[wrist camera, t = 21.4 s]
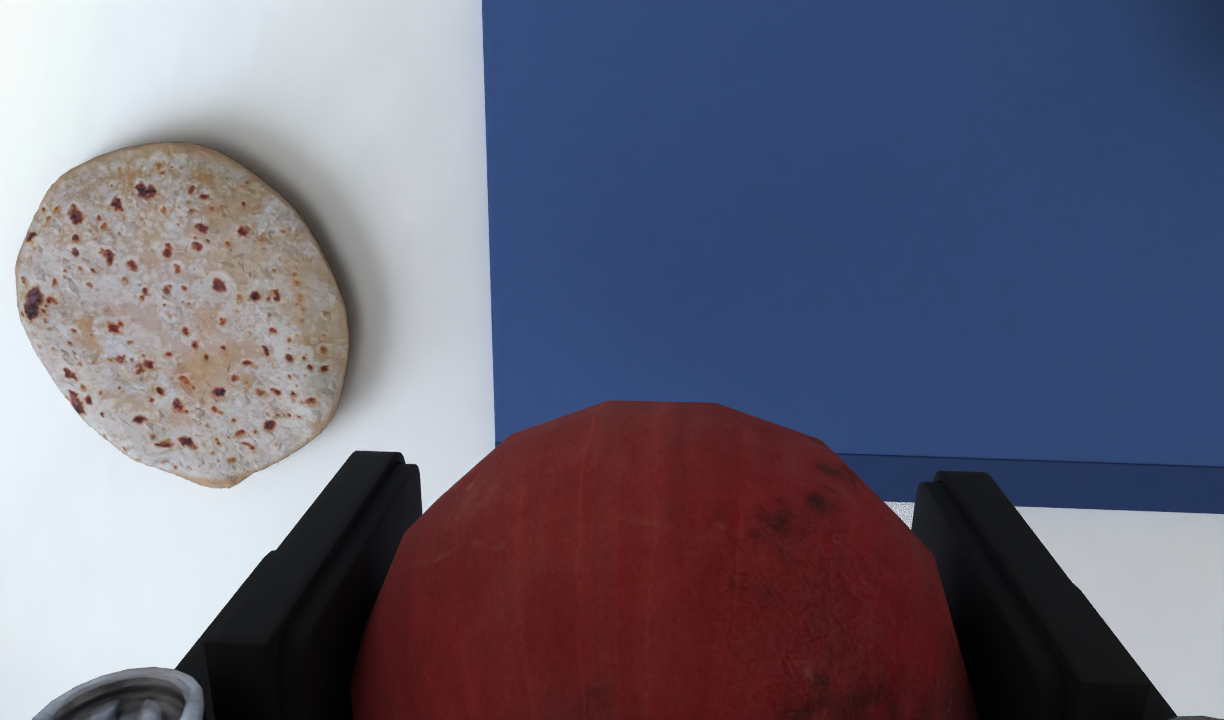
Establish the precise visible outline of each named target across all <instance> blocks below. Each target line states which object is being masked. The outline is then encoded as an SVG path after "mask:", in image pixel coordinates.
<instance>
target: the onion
mask: <svg viewBox="0 0 1224 720" xmlns="http://www.w3.org/2000/svg"><path fill="white" fill-rule="evenodd" d="M350 690H351V702H352V714H353V720H979V717H978V713H977V709H976V705H975V701H974V697H973V692H972V688H971V684H970V680H969V676H968V673H967V669H966V665H965V661H964V658H963V654H962V651H961V647H960V644H959V640H958V637H957V634H956V630H955V627H954V623H953V620H952V616H951V613H950V609H949V606H948V603H947V599H946V596H945V592H944V589H943V585H942V582H941V578H940V575H939V572H938V568H937V565H936V561H935V558H934V555H933V554H932V553H931V552H930V551H929V549H928V548H927V547H926V546H925V545H924V544H923V543H922V542H921V541H920V540H919V538H918V537H917V536H916V535H915V534H914V533H913V532H912V531H911V530H910V529H909V527H908V526H907V525H906V524H905V523H904V522H903V521H902V520H901V519H900V518H899V517H898V516H897V515H896V514H895V513H894V512H893V511H892V510H891V509H890V508H889V507H888V506H887V505H886V504H885V503H884V502H883V501H882V500H881V499H880V498H879V497H878V496H877V495H876V494H875V493H874V492H873V491H872V490H871V489H870V488H869V487H868V486H867V484H866V483H865V482H864V481H863V480H862V479H861V478H860V477H859V476H858V475H857V474H856V473H855V472H854V471H853V470H852V469H851V468H850V467H849V466H848V465H847V464H846V463H845V462H844V461H843V460H842V459H841V458H839V457H838V456H837V455H836V454H835V453H834V452H833V451H832V450H831V449H830V448H829V447H828V446H827V445H826V444H825V443H824V442H823V441H822V440H820V439H818V438H815V437H812V436H809V435H806V434H803V433H801V432H798V431H795V430H792V429H789V428H786V427H783V426H781V425H778V424H775V423H772V422H769V421H766V420H764V419H761V418H758V417H755V416H752V415H749V414H746V413H744V412H741V411H738V410H735V409H732V408H729V407H727V406H724V405H721V404H718V403H712V402H665V401H618V400H608V401H605V402H602V403H599V404H596V405H593V406H591V407H588V408H585V409H582V410H579V411H576V412H573V413H570V414H568V415H565V416H562V417H559V418H556V419H553V420H550V421H548V422H545V423H542V424H539V425H536V426H533V427H530V428H527V429H525V430H522V431H519V432H516V433H513V434H511V435H509V436H508V437H507V438H506V439H505V440H504V441H503V442H502V443H500V444H499V445H498V446H497V447H496V448H495V449H494V450H493V451H491V452H490V453H489V454H488V455H487V456H486V457H485V458H484V459H482V460H481V461H480V462H479V463H478V464H477V465H476V466H475V467H474V468H472V469H471V470H470V471H469V472H468V473H467V474H466V475H465V476H463V477H462V478H461V479H460V480H459V481H458V482H457V483H456V484H454V485H453V486H452V487H451V488H450V489H449V490H448V491H447V492H445V493H444V494H443V495H442V496H441V497H440V498H439V499H438V500H437V501H436V502H435V503H434V504H433V505H432V506H431V507H430V508H429V509H428V510H427V511H426V512H425V513H424V514H423V515H422V516H421V517H420V518H419V519H418V520H417V521H416V522H415V523H414V524H413V525H412V526H411V527H410V528H409V529H408V530H407V531H406V532H405V533H404V535H403V537H402V540H401V542H400V545H399V547H398V549H397V552H396V554H395V556H394V559H393V561H392V564H391V566H390V568H389V571H388V573H387V576H386V578H385V580H384V583H383V585H382V587H381V590H380V592H379V595H378V597H377V599H376V602H375V604H374V607H373V609H372V611H371V614H370V616H369V619H368V621H367V623H366V626H365V628H364V632H363V635H362V639H361V643H360V647H359V651H358V655H357V659H356V663H355V667H354V671H353V675H352V679H351V683H350Z"/></svg>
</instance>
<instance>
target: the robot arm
mask: <svg viewBox="0 0 1224 720" xmlns="http://www.w3.org/2000/svg"><path fill="white" fill-rule="evenodd" d="M421 516H422V500H421V484H420V472H419V469H418V466H417V465H416V464H405V460H404V457H403V455H402V454H401V453H400V452H379V451H355V452H353V453H352V454H351V456H350V457H349V458H348V459H347V461H346V462H345V463H344V464H343V466H342V467H341V468H340V470H339V471H338V472H337V473H336V475H335V476H334V477H333V478H332V480H331V481H330V482H329V484H328V485H327V486H326V487H325V489H324V490H323V491H322V492H321V494H320V495H319V496H318V497H317V499H316V500H315V501H314V503H313V504H312V505H311V506H310V508H309V509H308V510H307V511H306V513H305V514H304V515H303V517H302V518H301V519H300V520H299V522H298V523H297V524H296V525H295V527H294V528H293V529H292V530H291V532H290V533H289V534H288V536H287V537H286V538H285V539H284V541H283V542H282V543H281V544H280V546H279V547H278V548H277V550H274V551H271V552H270V553H268V554H267V555H266V556H265V557H264V558H263V559H262V561H261V562H260V563H259V564H258V566H257V567H256V568H255V569H254V571H253V572H252V573H251V574H250V576H249V577H248V578H247V579H246V581H245V582H244V583H243V584H242V586H241V587H240V588H239V589H238V591H237V592H236V593H235V594H234V596H233V597H232V598H231V599H230V601H229V602H228V603H227V604H226V606H225V607H224V608H223V609H222V611H221V612H220V613H219V614H218V616H217V617H216V618H215V619H214V621H213V622H212V623H211V624H210V626H209V627H208V628H207V629H206V631H205V632H204V633H203V634H202V636H201V637H200V638H199V639H198V641H197V642H196V643H195V644H194V646H193V647H192V648H191V649H190V651H189V652H188V653H187V654H186V656H185V657H184V658H183V659H182V661H181V662H180V663H179V664H178V666H177V667H176V668H175V669H167V668H158V667H148V668H136V669H127V670H123V671H119V672H115V673H111V674H107V675H103V676H100V677H98V678H95V679H93V680H90V681H88V682H86V683H83V684H81V685H78V686H76V687H74V688H72V689H71V690H69V691H68V692H66V693H64V694H63V695H61V696H59V697H58V698H56V699H54V700H53V701H51V702H50V703H49V704H48V705H47V706H46V707H45V708H44V709H42V710H41V711H40V712H39V713H38V714H37V715H36V716H35V717H34V718H33V719H32V720H353V714H352V702H351V690H350V683H351V679H352V675H353V671H354V667H355V663H356V659H357V655H358V651H359V647H360V643H361V639H362V635H363V632H364V628H365V626H366V623H367V621H368V619H369V616H370V614H371V611H372V609H373V607H374V604H375V602H376V599H377V597H378V595H379V592H380V590H381V587H382V585H383V583H384V580H385V578H386V576H387V573H388V571H389V568H390V566H391V564H392V561H393V559H394V556H395V554H396V552H397V549H398V547H399V545H400V542H401V540H402V537H403V535H404V533H405V532H406V531H407V530H408V529H409V528H410V527H411V526H412V525H413V524H414V523H415V522H416V521H417V520H418V519H419V518H420V517H421ZM911 531H912V532H913V533H914V534H915V535H916V536H917V537H918V538H919V540H920V541H921V542H922V543H923V544H924V545H925V546H926V547H927V548H928V549H929V551H930V552H931V553H932V554H933V555H934V558H935V561H936V565H937V568H938V572H939V575H940V578H941V582H942V585H943V589H944V592H945V596H946V599H947V603H948V606H949V609H950V613H951V616H952V620H953V623H954V627H955V630H956V634H957V637H958V640H959V644H960V647H961V651H962V654H963V658H964V661H965V665H966V669H967V673H968V676H969V680H970V684H971V688H972V692H973V697H974V701H975V705H976V709H977V713H978V717H979V720H1224V719H1218V718H1212V717H1206V716H1177V715H1176V714H1175V713H1174V711H1173V710H1172V709H1171V707H1170V706H1169V705H1168V703H1167V702H1166V701H1165V699H1164V698H1163V697H1162V696H1161V694H1160V693H1159V692H1158V690H1157V689H1156V688H1155V686H1154V685H1153V684H1152V683H1151V681H1150V680H1149V679H1148V677H1147V676H1146V675H1145V673H1144V672H1143V671H1142V670H1141V668H1140V667H1139V666H1138V664H1137V663H1136V662H1135V660H1134V659H1133V658H1132V657H1131V655H1130V654H1129V653H1128V651H1127V650H1126V649H1125V647H1124V646H1123V645H1122V644H1121V642H1120V641H1119V640H1118V638H1117V637H1116V636H1115V634H1114V633H1113V632H1112V631H1111V629H1110V628H1109V627H1108V625H1107V624H1106V623H1105V621H1104V620H1103V619H1102V617H1101V616H1100V615H1099V614H1098V612H1097V611H1096V610H1095V608H1094V607H1093V606H1092V604H1091V603H1090V602H1089V601H1088V599H1087V598H1086V597H1085V595H1084V594H1083V593H1082V591H1081V590H1080V589H1079V588H1078V587H1077V586H1075V585H1074V584H1073V583H1072V582H1071V580H1070V579H1069V578H1068V577H1067V575H1066V574H1065V573H1064V571H1063V570H1062V569H1061V567H1060V566H1059V565H1058V563H1057V562H1056V561H1055V559H1054V558H1053V557H1052V556H1051V554H1050V553H1049V552H1048V550H1047V549H1046V548H1045V546H1044V545H1043V544H1042V542H1041V541H1040V540H1039V539H1038V537H1037V536H1036V535H1035V533H1034V532H1033V531H1032V529H1031V528H1030V527H1029V525H1028V524H1027V523H1026V522H1025V520H1024V519H1023V518H1022V516H1021V515H1020V514H1019V512H1018V511H1017V510H1016V508H1015V507H1014V506H1013V504H1012V503H1011V502H1010V501H1009V499H1008V498H1007V497H1006V495H1005V494H1004V493H1003V491H1002V490H1001V489H1000V487H999V486H998V485H997V484H996V482H995V481H994V480H993V478H992V477H991V476H990V475H989V474H988V473H987V472H966V471H938V472H937V473H936V474H935V476H934V478H933V481H932V482H921V483H920V484H919V485H918V488H917V492H916V498H915V506H914V514H913V522H912V530H911Z"/></svg>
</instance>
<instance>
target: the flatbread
mask: <svg viewBox="0 0 1224 720" xmlns="http://www.w3.org/2000/svg"><path fill="white" fill-rule="evenodd" d="M15 276H16V290H17V305H18V310H19V315H20V320H21V323H22V325H23V327H24V329H25V331H26V333H27V336H28V338H29V340H30V342H31V344H32V346H33V349H34V350H35V352H36V354H37V356H38V357H39V359H40V360H41V362H42V363H43V365H44V366H45V368H46V370H47V371H48V373H49V374H50V376H51V377H52V379H53V380H54V382H55V384H56V385H57V387H58V388H59V390H60V391H61V392H62V394H63V395H64V396H65V397H66V399H67V400H68V401H69V402H70V404H71V405H72V406H73V408H74V409H75V410H76V411H77V413H78V414H79V415H80V417H81V418H82V419H83V420H84V421H85V422H86V423H87V424H88V425H89V426H90V427H92V428H93V429H94V430H95V431H96V432H97V433H98V434H99V435H100V436H102V437H103V438H105V439H106V440H107V441H109V442H110V443H111V444H112V445H114V446H115V447H116V448H117V449H118V450H119V451H121V452H122V453H123V454H125V455H127V456H128V457H130V458H131V459H133V460H134V461H137V462H141V463H143V464H145V465H148V466H152V467H155V468H158V469H160V470H163V471H166V472H169V473H172V474H175V475H177V476H180V477H182V478H185V479H187V480H189V481H192V482H194V483H197V484H199V485H202V486H206V487H211V488H231V487H233V486H235V485H237V484H239V483H240V482H241V481H243V480H244V479H246V478H247V477H249V476H250V475H251V474H253V473H254V472H257V471H260V470H263V469H265V468H267V467H269V466H271V465H272V464H275V463H278V462H279V461H281V460H283V459H284V458H286V457H288V456H289V455H291V454H292V453H294V452H296V451H297V450H299V449H301V448H302V447H303V446H305V445H306V444H307V443H309V442H310V441H311V440H313V439H314V438H315V437H316V436H318V435H319V434H320V433H321V432H322V431H323V429H324V428H325V427H326V426H327V424H328V423H329V422H330V420H331V419H332V417H333V416H334V414H335V411H336V409H337V407H338V404H339V400H340V397H341V393H342V388H343V382H344V376H345V371H346V367H347V362H348V354H349V330H348V322H347V313H346V305H345V303H344V300H343V298H342V295H341V293H340V290H339V288H338V285H337V283H336V280H335V278H334V275H333V273H332V271H331V269H330V267H329V265H328V263H327V261H326V258H325V256H324V254H323V252H322V250H321V249H320V247H319V245H318V243H317V241H316V240H315V238H314V237H313V235H312V233H311V232H310V230H309V228H308V226H307V225H306V223H305V222H304V220H303V219H302V218H301V217H300V215H299V214H298V213H297V212H296V210H295V209H294V208H293V207H292V206H291V205H290V204H289V203H288V202H287V201H286V200H285V199H284V198H283V197H282V196H281V195H280V194H279V193H278V192H277V191H275V190H274V189H272V188H271V187H270V186H269V185H267V184H266V183H265V182H264V181H262V180H261V179H260V178H259V177H257V176H256V175H255V174H253V173H252V172H251V171H250V170H248V169H247V168H245V167H244V166H242V165H241V164H239V163H237V162H236V161H234V160H233V159H231V158H229V157H227V156H225V155H223V154H221V153H219V152H217V151H214V150H212V149H209V148H207V147H203V146H200V145H195V144H190V143H180V142H165V143H151V144H144V145H138V146H132V147H126V148H122V149H119V150H116V151H112V152H109V153H106V154H103V155H100V156H97V157H95V158H93V159H91V160H89V161H87V162H85V163H83V164H81V165H79V166H77V167H75V168H73V169H71V170H69V171H68V172H66V173H65V174H63V175H62V176H61V177H60V178H59V179H58V180H57V181H56V182H55V183H54V184H53V185H52V186H51V187H50V188H49V190H48V191H47V193H46V195H45V197H44V198H43V200H42V202H41V204H40V207H39V209H38V211H37V212H36V214H35V215H34V218H33V221H32V223H31V225H30V227H29V229H28V232H27V235H26V237H25V240H24V242H23V244H22V247H21V249H20V251H19V255H18V258H17V261H16V267H15Z"/></svg>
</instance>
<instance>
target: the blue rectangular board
mask: <svg viewBox="0 0 1224 720" xmlns="http://www.w3.org/2000/svg"><path fill="white" fill-rule="evenodd" d="M482 19H483V52H484V84H485V117H486V150H487V182H488V215H489V247H490V280H491V313H492V345H493V378H494V410H495V448H496V447H497V446H498V445H499V444H500V443H502V442H503V441H504V440H505V439H506V438H507V437H508V436H509V435H511V434H513V433H516V432H519V431H522V430H525V429H527V428H530V427H533V426H536V425H539V424H542V423H545V422H548V421H550V420H553V419H556V418H559V417H562V416H565V415H568V414H570V413H573V412H576V411H579V410H582V409H585V408H588V407H591V406H593V405H596V404H599V403H602V402H605V401H608V400H618V401H665V402H712V403H718V404H721V405H724V406H727V407H729V408H732V409H735V410H738V411H741V412H744V413H746V414H749V415H752V416H755V417H758V418H761V419H764V420H766V421H769V422H772V423H775V424H778V425H781V426H783V427H786V428H789V429H792V430H795V431H798V432H801V433H803V434H806V435H809V436H812V437H815V438H818V439H820V440H822V441H823V442H824V443H825V444H826V445H827V446H828V447H829V448H830V449H831V450H832V451H833V452H834V453H835V454H836V455H837V456H838V457H839V458H841V459H842V460H843V461H844V462H845V463H846V464H847V465H848V466H849V467H850V468H851V469H852V470H853V471H854V472H855V473H856V474H857V475H858V476H859V477H860V478H861V479H862V480H863V481H864V482H865V483H866V484H867V486H868V487H869V488H870V489H871V490H872V491H873V492H874V493H875V494H876V495H877V496H878V497H879V498H880V499H881V500H882V501H887V502H914V503H915V498H916V492H917V488H918V485H919V484H920V483H921V482H932V481H933V478H934V476H935V474H936V473H937V472H938V471H966V472H987V473H988V474H989V475H990V476H991V477H992V478H993V480H994V481H995V482H996V484H997V485H998V486H999V487H1000V489H1001V490H1002V491H1003V493H1004V494H1005V495H1006V497H1007V498H1008V499H1009V501H1010V502H1011V503H1012V504H1013V506H1022V507H1049V508H1076V509H1103V510H1130V511H1157V512H1184V513H1212V514H1224V0H482Z"/></svg>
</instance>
